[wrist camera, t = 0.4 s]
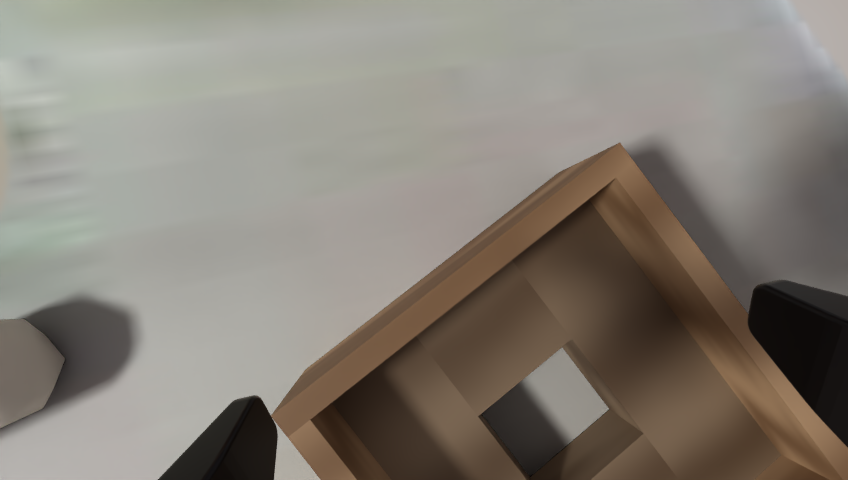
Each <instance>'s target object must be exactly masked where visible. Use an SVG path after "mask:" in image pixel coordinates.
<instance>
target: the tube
mask: <svg viewBox="0 0 848 480" xmlns="http://www.w3.org/2000/svg"><path fill="white" fill-rule="evenodd" d="M64 361H65V358H64V357H63V356H62V354H61V353H60V352H59V351H58V350H57V348H56V347H55V346H54V345H53V344H52V343H51V341H50V340H49V339H48V338H47V337H46V335H44V334H43V333H42V332H40V331H39V330H38V329H37V328H35V327H34V326H33V325H31V324H30V323H29V322H27V321H26V320H25V319H7V320H0V428H2V427H4V426H6V425H8V424H10V423H12V422H15V421H17V420H19V419H21V418H23V417H25V416H28V415H30V414H32V413H34V412H36V411H38V410H40V409H43V408H44V406H45V404H46V402H47V400H48V398H49V396H50V395H51V393H52V391H53V389H54V386H55V384H56V381H57V379H58V376H59V374H60V371H61V368H62V366H63V363H64Z"/></svg>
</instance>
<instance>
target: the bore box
mask: <svg viewBox="0 0 848 480" xmlns="http://www.w3.org/2000/svg"><path fill="white" fill-rule="evenodd" d="M747 321H748V313H747V312H746V311H745V309H744V308H743V307H742V305H741V304H740V303H739V301H738V300H737V299H736V297H735V296H734V295H733V293H732V292H731V291H730V289H729V288H728V287H727V285H726V284H725V283H724V281H723V280H722V279H721V277H720V276H719V275H718V273H717V272H716V271H715V269H714V268H713V266H712V265H711V264H710V262H709V261H708V260H707V258H706V257H705V256H704V254H703V253H702V252H701V250H700V249H699V248H698V246H697V245H696V244H695V242H694V241H693V240H692V238H691V237H690V236H689V234H688V233H687V232H686V230H685V229H684V228H683V226H682V225H681V224H680V222H679V221H678V220H677V218H676V217H675V216H674V214H673V213H672V212H671V210H670V209H669V208H668V206H667V205H666V204H665V202H664V201H663V200H662V198H661V197H660V196H659V194H658V193H657V192H656V190H655V189H654V188H653V186H652V185H651V184H650V182H649V181H648V180H647V178H646V177H645V176H644V174H643V173H642V172H641V170H640V169H639V168H638V166H637V165H636V164H635V162H634V161H633V160H632V158H631V157H630V156H629V154H628V153H627V152H626V150H625V149H624V148H623V146H622V145H621V144H620V143H618V144H616V145H614V146H612V147H610V148H608V149H606V150H604V151H602V152H600V153H598V154H596V155H594V156H592V157H590V158H588V159H586V160H584V161H581V162H579V163H577V164H575V165H573V166H571V167H569V168H567V169H565V170H563V171H561V172H559V173H558V174H556V175H555V176H554V177H553V178H551V179H550V180H549V181H547V182H546V183H545V184H544V185H542V186H541V187H540V188H538V189H537V190H536V191H535V192H533V193H532V194H531V195H529V196H528V197H527V198H526V199H524V200H523V201H522V202H520V203H519V204H518V205H517V206H515V207H514V208H513V209H511V210H510V211H509V212H508V213H506V214H505V215H504V216H502V217H501V218H500V219H499V220H497V221H496V222H495V223H493V224H492V225H491V226H490V227H488V228H487V229H486V230H484V231H483V232H482V233H481V234H479V235H478V236H477V237H475V238H474V239H473V240H472V241H470V242H469V243H468V244H466V245H465V246H464V247H463V248H461V249H460V250H459V251H457V252H456V253H455V254H454V255H452V256H451V257H450V258H448V259H447V260H446V261H445V262H443V263H442V264H441V265H439V266H438V267H437V268H436V269H434V270H433V271H432V272H430V273H429V274H428V275H427V276H425V277H424V278H423V279H421V280H420V281H419V282H418V283H416V284H415V285H414V286H412V287H411V288H410V289H409V290H407V291H406V292H405V293H403V294H402V295H401V296H400V297H398V298H397V299H396V300H394V301H393V302H392V303H391V304H389V305H388V306H387V307H385V308H384V309H383V310H382V311H380V312H379V313H378V314H376V315H375V316H374V317H373V318H371V319H370V320H369V321H367V322H366V323H365V324H364V325H362V326H361V327H360V328H358V329H357V330H356V331H355V332H353V333H352V334H351V335H349V336H348V337H347V338H346V339H344V340H343V341H342V342H340V343H339V344H338V345H337V346H335V347H334V348H333V349H331V350H330V351H329V352H328V353H326V354H325V355H324V356H322V357H321V358H320V359H319V360H317V361H316V362H315V363H313V364H312V365H311V366H310V367H308V368H307V369H306V370H305V371H304V372H303V374H302V375H301V376H300V378H299V379H298V380H297V382H296V383H295V384H294V386H293V387H292V388H291V390H290V391H289V392H288V394H287V395H286V396H285V398H284V399H283V400H282V402H281V403H280V404H279V406H278V407H277V408H276V410H275V411H274V412H273V414H272V415H271V417H272V418H273V419H274V421H275V422H276V423H277V424H278V426H279V427H280V428H281V429H282V431H283V432H284V433H285V435H286V436H287V437H288V438H289V440H290V441H291V442H292V443H293V445H294V446H295V447H296V449H297V450H298V451H299V452H300V454H301V455H302V456H303V458H304V459H305V460H306V461H307V463H308V464H309V465H310V466H311V468H312V469H313V470H314V472H315V473H316V474H317V475H318V477H319V478H320V479H321V480H848V448H847V446H846V445H845V444H844V443H843V442H842V441H841V440H840V439H839V438H838V437H837V436H836V435H835V434H834V433H833V432H832V431H831V430H830V429H829V428H828V427H827V425H826V424H825V423H824V422H823V421H822V420H821V419H820V418H819V417H818V416H817V415H816V413H815V412H814V411H813V410H812V409H811V408H810V406H809V405H808V404H807V403H806V402H805V400H804V399H803V398H802V397H801V396H800V394H799V393H798V392H797V391H796V389H795V388H794V387H793V386H792V384H791V383H790V382H789V381H788V379H787V378H786V377H785V376H784V374H783V373H782V372H781V371H780V369H779V368H778V367H777V366H776V364H775V363H774V362H773V361H772V359H771V358H770V357H769V356H768V354H767V353H766V352H765V351H764V349H763V348H762V347H761V346H760V344H759V343H758V342H757V341H756V339H755V338H754V337H753V335H752V334H751V332H750V330H749V327H748V322H747ZM561 347H563V349H564V350H565V351H566V353H567V354H568V355H569V357H570V358H571V359H572V361H573V362H574V363H575V365H576V366H577V367H578V368H579V370H580V371H581V372H582V374H583V375H584V376H585V378H586V379H587V380H588V382H589V383H590V384H591V386H592V387H593V388H594V389H595V391H596V392H597V393H598V395H599V396H600V397H601V399H602V400H603V401H604V403H605V404H606V405H607V407H608V408H609V409H610V410H608V411H607V412H606V413H605V414H604V415H603V416H601V417H600V418H599V419H598V420H597V421H596V422H594V423H593V424H592V425H591V426H590V427H588V428H587V429H586V430H585V431H584V432H583V433H581V434H580V435H579V436H578V437H577V438H576V439H574V440H573V441H572V442H571V443H570V444H569V445H567V446H566V447H565V448H564V449H563V450H562V451H560V452H559V453H558V454H557V455H556V456H555V457H553V458H552V459H551V460H550V461H549V462H548V463H546V464H545V465H544V466H543V467H542V468H541V469H539V470H538V471H537V472H536V473H535V474H534V475H532V476H531V477H529V475H528V474H527V473H526V472H525V470H524V469H523V468H522V466H521V465H520V464H519V462H518V461H517V460H516V459H515V457H514V456H513V455H512V453H511V452H510V451H509V449H508V448H507V447H506V446H505V444H504V443H503V442H502V440H501V439H500V438H499V436H498V435H497V434H496V433H495V431H494V430H493V429H492V427H491V426H490V425H489V423H488V422H487V421H486V420H485V418H484V417H483V416H482V413H483V412H484V411H485V410H486V409H488V408H489V407H490V406H491V405H492V404H494V403H495V402H496V401H497V400H499V399H500V398H501V397H502V396H503V395H505V394H506V393H507V392H508V391H509V390H511V389H512V388H513V387H514V386H515V385H517V384H518V383H519V382H520V381H522V380H523V379H524V378H525V377H526V376H528V375H529V374H530V373H531V372H532V371H534V370H535V369H536V368H537V367H538V366H540V365H541V364H542V363H543V362H544V361H546V360H547V359H548V358H549V357H551V356H552V355H553V354H554V353H555V352H557V351H558V350H559V349H560V348H561Z"/></svg>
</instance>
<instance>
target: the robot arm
mask: <svg viewBox="0 0 848 480" xmlns="http://www.w3.org/2000/svg"><path fill="white" fill-rule="evenodd" d="M747 322H748V327H749V330H750V332H751V334H752V335H753V337H754V338H755V339H756V341H757V342H758V343H759V344H760V346H761V347H762V348H763V349H764V351H765V352H766V353H767V354H768V356H769V357H770V358H771V359H772V361H773V362H774V363H775V364H776V366H777V367H778V368H779V369H780V371H781V372H782V373H783V374H784V376H785V377H786V378H787V379H788V381H789V382H790V383H791V384H792V386H793V387H794V388H795V389H796V391H797V392H798V393H799V394H800V396H801V397H802V398H803V399H804V400H805V402H806V403H807V404H808V405H809V406H810V408H811V409H812V410H813V411H814V412H815V413H816V415H817V416H818V417H819V418H820V419H821V420H822V421H823V422H824V423H825V424H826V425H827V427H828V428H829V429H830V430H831V431H832V432H833V433H834V434H835V435H836V436H837V437H838V438H839V439H840V440H841V441H842V442H843V443H844V444H845V445H846V446H847V448H848V296H844V295H840V294H837V293H833V292H829V291H825V290H821V289H817V288H814V287H810V286H806V285H802V284H798V283H794V282H791V281H786V280H777V281H772V282H768V283H763V284H760V285H758V286H756V288H755V289H754V291H753V294H752V299H751V304H750V310H749V315H748V321H747ZM277 437H278V436H277V428H276V425H275V423H274V421H273V419H272V417H271V415H270V414H269V412H268V410H267V408H266V406H265V404H264V403H263V401H262V399H261V398H260V397H258V396H249V397H244V398H240V399H237V400H234V401H233V402H232V403H231V404H230V405H229V406H228V407H227V408H226V409H225V410H224V411H223V412H222V413H221V414H220V415H219V416H218V417H217V418H216V419H215V420H214V421H213V422H212V423H211V425H210V426H209V427H208V428H207V429H206V430H205V431H204V432H203V433H202V434H201V435H200V436H199V437H198V438H197V439H196V440H195V441H194V442H193V443H192V445H191V446H190V447H189V448H188V449H187V450H186V451H185V452H184V453H183V454H182V455H181V456H180V457H179V458H178V459H177V460H176V461H175V462H174V463H173V464H172V466H171V467H170V468H169V469H168V470H167V471H166V472H165V473H164V474H163V475H162V476H161V477H160V478H159V479H158V480H274V471H275V460H276V449H277Z"/></svg>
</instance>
